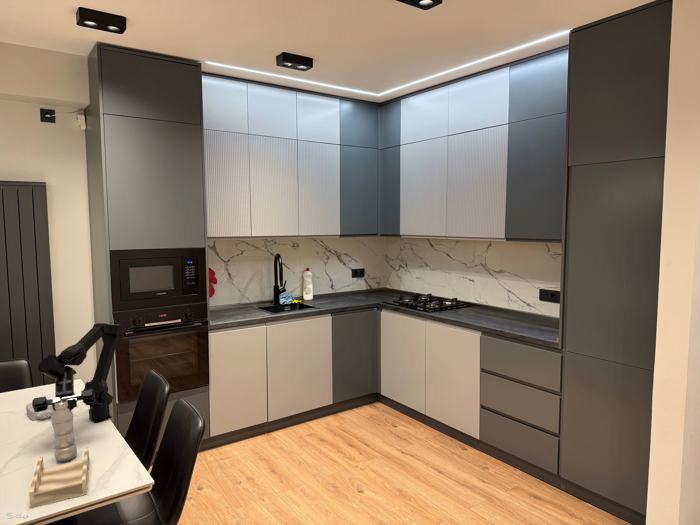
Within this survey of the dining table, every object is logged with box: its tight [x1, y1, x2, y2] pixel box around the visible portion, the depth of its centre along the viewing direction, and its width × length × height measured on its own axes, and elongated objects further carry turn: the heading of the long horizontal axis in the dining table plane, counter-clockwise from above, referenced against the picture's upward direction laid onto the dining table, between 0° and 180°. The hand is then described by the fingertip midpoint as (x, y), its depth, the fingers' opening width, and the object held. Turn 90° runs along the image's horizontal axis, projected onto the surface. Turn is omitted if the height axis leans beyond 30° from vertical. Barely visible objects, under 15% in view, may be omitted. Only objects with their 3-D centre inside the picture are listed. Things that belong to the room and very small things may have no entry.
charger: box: [25, 398, 55, 421], centre depth 204 cm, size 5×9×15 cm
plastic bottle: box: [50, 400, 78, 463], centre depth 167 cm, size 6×7×20 cm
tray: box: [28, 446, 90, 509], centre depth 153 cm, size 23×14×4 cm, turn 26°
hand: (64, 423), depth 171 cm, fingers closed
